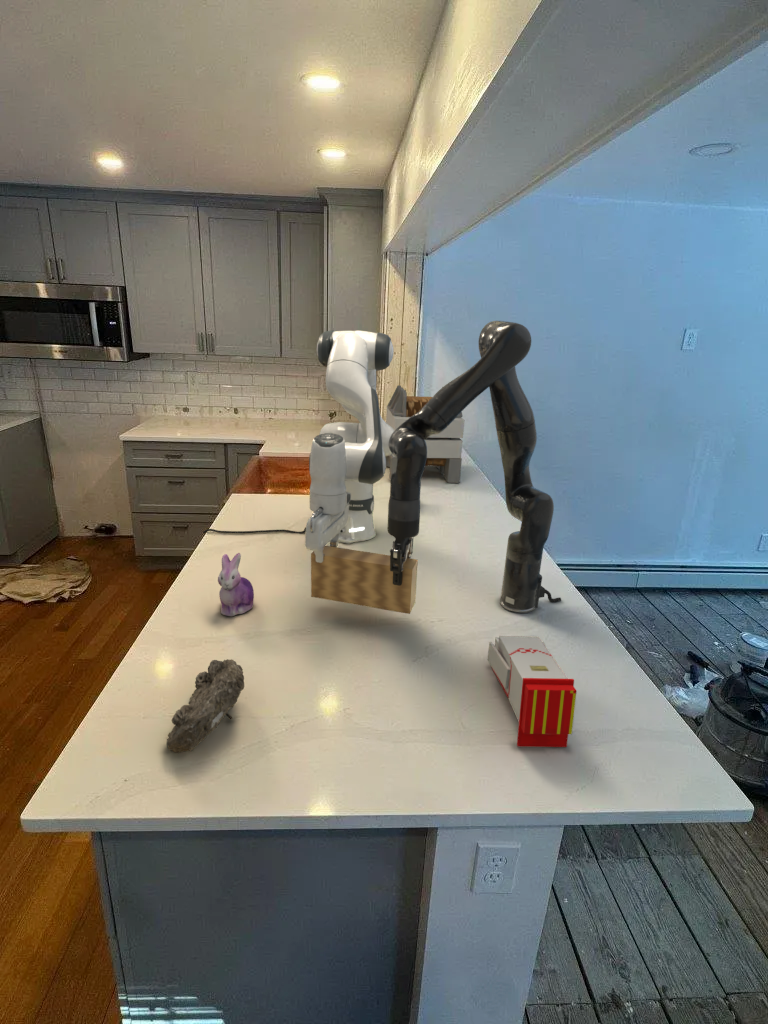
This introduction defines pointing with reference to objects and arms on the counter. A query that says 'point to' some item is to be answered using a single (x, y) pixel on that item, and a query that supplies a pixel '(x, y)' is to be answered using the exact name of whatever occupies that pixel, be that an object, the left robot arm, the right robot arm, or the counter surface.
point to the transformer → (439, 446)
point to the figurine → (234, 588)
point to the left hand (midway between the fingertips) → (327, 554)
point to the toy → (534, 690)
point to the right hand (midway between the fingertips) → (400, 578)
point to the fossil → (206, 705)
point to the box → (363, 579)
